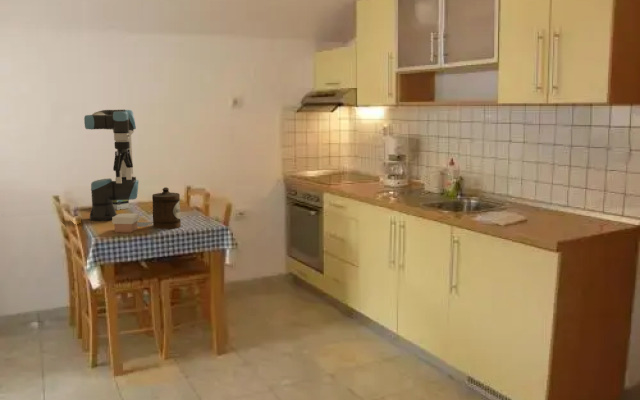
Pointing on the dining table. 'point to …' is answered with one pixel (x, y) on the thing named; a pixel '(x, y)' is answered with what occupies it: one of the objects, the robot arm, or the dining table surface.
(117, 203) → the tea box
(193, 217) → the dining table surface
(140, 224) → the mat
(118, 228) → the dish
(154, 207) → the wooden container
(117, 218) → the lid
